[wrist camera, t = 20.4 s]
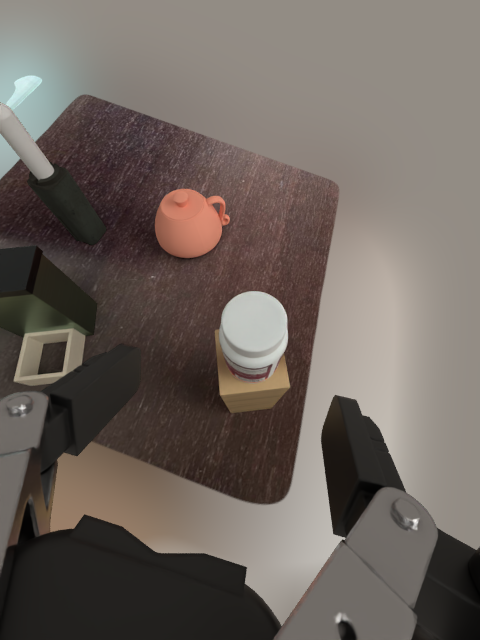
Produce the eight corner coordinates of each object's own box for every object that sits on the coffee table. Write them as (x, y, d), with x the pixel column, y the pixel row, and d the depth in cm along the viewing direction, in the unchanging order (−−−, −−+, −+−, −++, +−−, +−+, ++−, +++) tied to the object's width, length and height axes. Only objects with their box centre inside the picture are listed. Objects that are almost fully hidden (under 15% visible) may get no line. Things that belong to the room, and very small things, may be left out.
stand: (271, 408, 39) (290, 387, 22) (230, 413, 39) (219, 395, 22) (265, 368, 41) (278, 322, 25) (227, 372, 41) (214, 329, 25)
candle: (72, 239, 53) (-61, 87, 30) (87, 221, 54) (-28, 64, 32) (94, 246, 52) (-26, 95, 29) (108, 227, 54) (6, 71, 31)
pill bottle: (252, 322, 25) (255, 272, 17) (289, 359, 23) (310, 321, 16) (213, 356, 24) (198, 317, 16) (250, 396, 22) (253, 375, 14)
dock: (79, 380, 41) (65, 375, 38) (31, 385, 41) (13, 381, 38) (85, 335, 44) (73, 328, 41) (40, 341, 44) (24, 333, 41)
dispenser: (94, 336, 44) (25, 289, 30) (31, 343, 44) (-69, 299, 30) (98, 302, 47) (36, 245, 33) (38, 308, 46) (-50, 253, 32)
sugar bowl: (156, 223, 54) (137, 179, 44) (222, 208, 55) (217, 161, 46) (166, 272, 49) (147, 233, 40) (239, 253, 50) (237, 212, 41)
